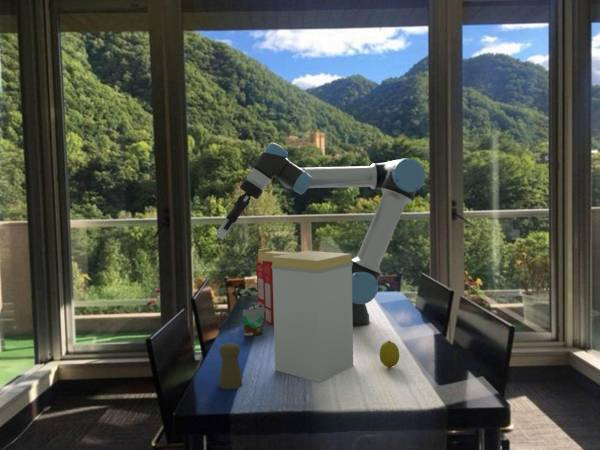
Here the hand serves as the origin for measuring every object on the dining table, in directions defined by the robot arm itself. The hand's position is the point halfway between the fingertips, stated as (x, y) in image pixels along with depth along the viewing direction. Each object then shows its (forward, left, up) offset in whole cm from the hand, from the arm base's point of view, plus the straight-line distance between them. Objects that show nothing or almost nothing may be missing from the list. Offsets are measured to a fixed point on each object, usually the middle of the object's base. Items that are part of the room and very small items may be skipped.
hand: (219, 236), depth 179 cm
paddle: (-5, +38, -6) cm, 39 cm away
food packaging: (-26, -10, -36) cm, 46 cm away
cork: (+19, +39, -36) cm, 56 cm away
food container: (-12, +2, -36) cm, 38 cm away
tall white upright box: (-6, +43, -36) cm, 56 cm away
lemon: (-22, +57, -36) cm, 71 cm away
